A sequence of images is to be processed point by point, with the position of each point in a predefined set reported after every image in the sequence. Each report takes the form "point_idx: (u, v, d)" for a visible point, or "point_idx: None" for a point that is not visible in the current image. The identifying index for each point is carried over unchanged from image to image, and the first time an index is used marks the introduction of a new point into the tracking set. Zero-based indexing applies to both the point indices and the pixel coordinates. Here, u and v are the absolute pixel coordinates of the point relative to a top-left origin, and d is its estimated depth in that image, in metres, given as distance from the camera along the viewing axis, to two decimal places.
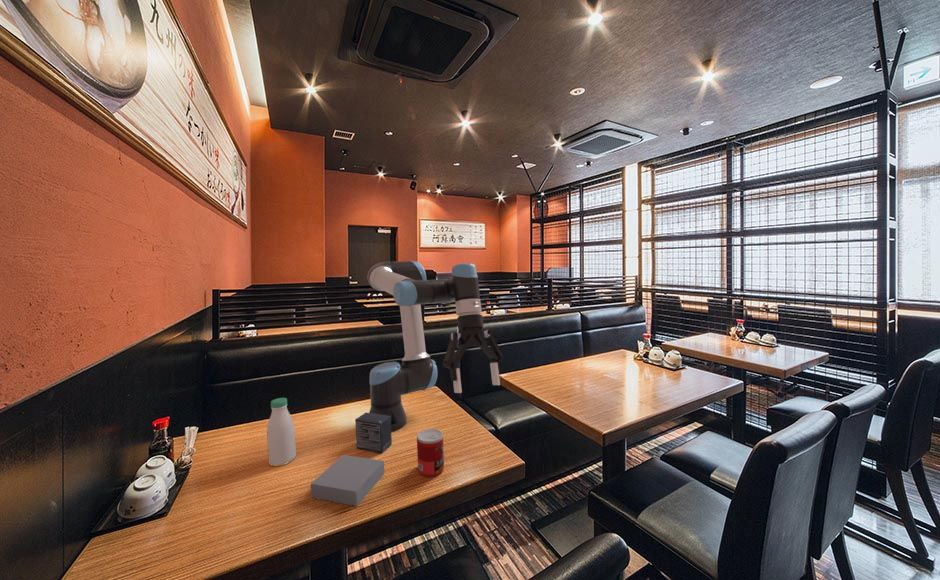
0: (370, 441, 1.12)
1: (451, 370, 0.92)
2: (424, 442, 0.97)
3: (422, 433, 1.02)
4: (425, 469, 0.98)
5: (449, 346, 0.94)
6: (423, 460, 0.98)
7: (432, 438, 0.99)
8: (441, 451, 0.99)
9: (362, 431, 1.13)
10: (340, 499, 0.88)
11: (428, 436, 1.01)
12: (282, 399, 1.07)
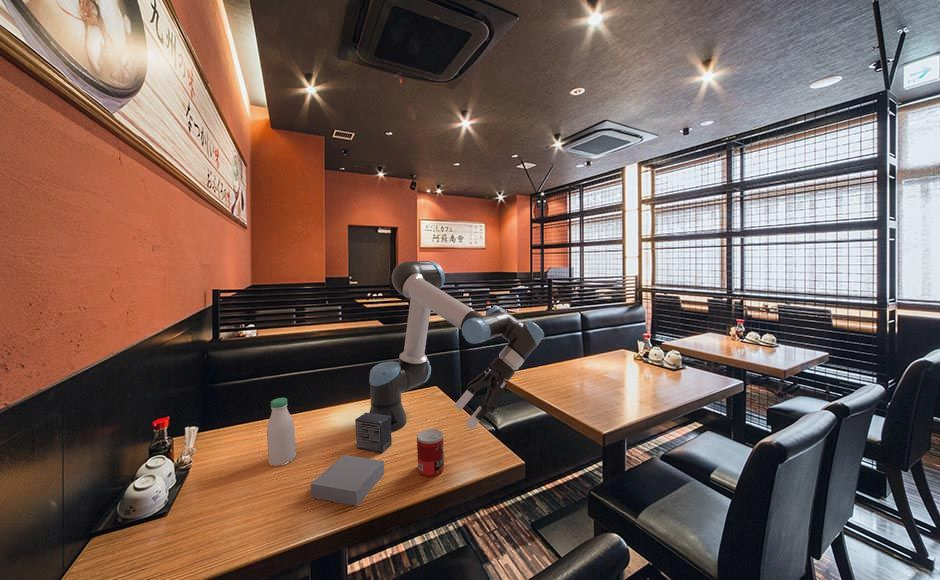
0: (370, 441, 1.12)
1: (485, 412, 0.96)
2: (424, 442, 0.97)
3: (422, 433, 1.02)
4: (425, 469, 0.98)
5: (497, 392, 0.98)
6: (423, 460, 0.98)
7: (432, 438, 0.99)
8: (441, 451, 0.99)
9: (362, 431, 1.13)
10: (340, 499, 0.88)
11: (428, 436, 1.01)
12: (282, 399, 1.07)
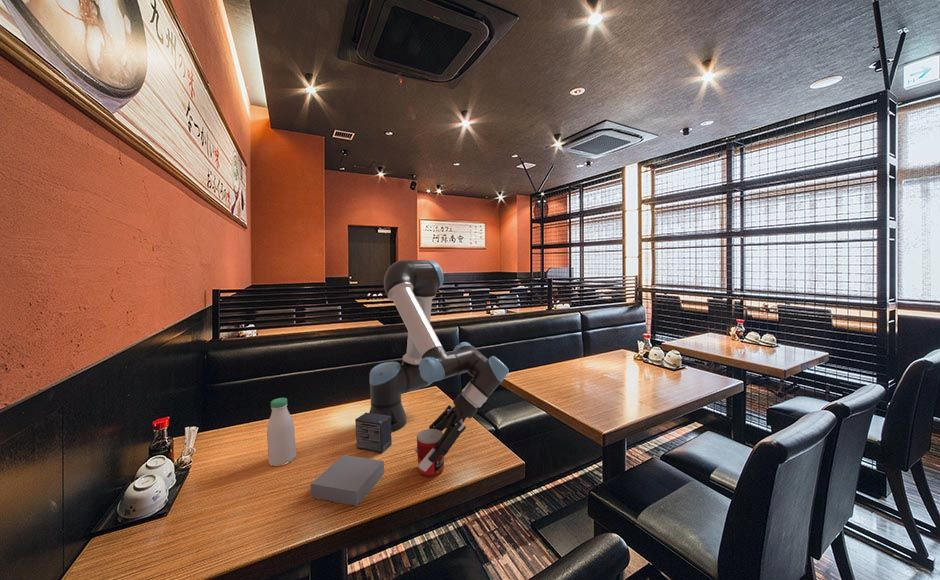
0: (370, 441, 1.12)
1: (437, 454, 0.96)
2: (424, 442, 0.97)
3: (422, 433, 1.02)
4: None
5: (453, 435, 0.96)
6: None
7: (432, 438, 0.99)
8: None
9: (362, 431, 1.13)
10: (340, 499, 0.88)
11: (428, 436, 1.01)
12: (282, 399, 1.07)
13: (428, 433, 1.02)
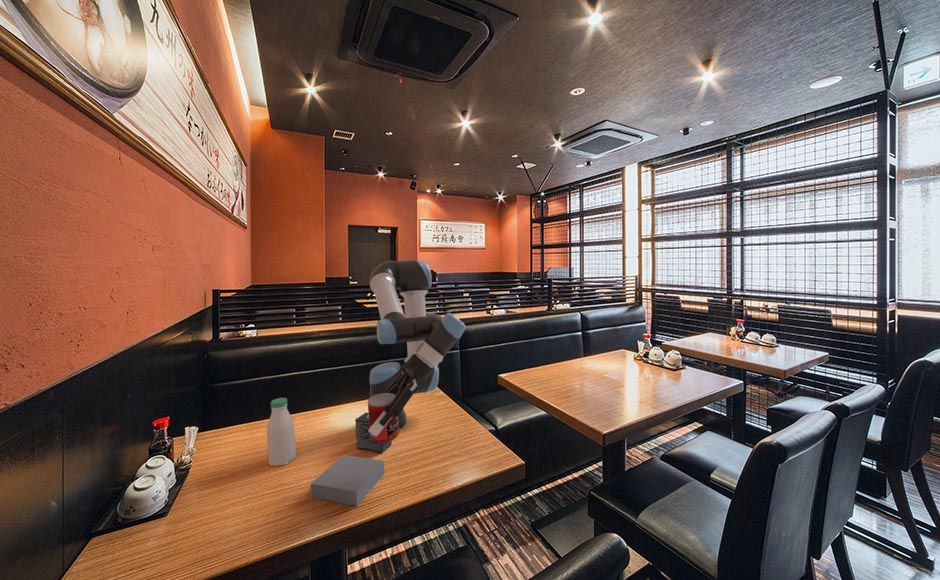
0: (370, 441, 1.12)
1: (389, 417, 0.89)
2: (375, 405, 0.90)
3: (374, 397, 0.95)
4: None
5: (404, 396, 0.89)
6: None
7: (384, 401, 0.92)
8: None
9: (362, 431, 1.13)
10: (340, 499, 0.88)
11: (380, 399, 0.93)
12: (282, 399, 1.07)
13: (381, 397, 0.95)
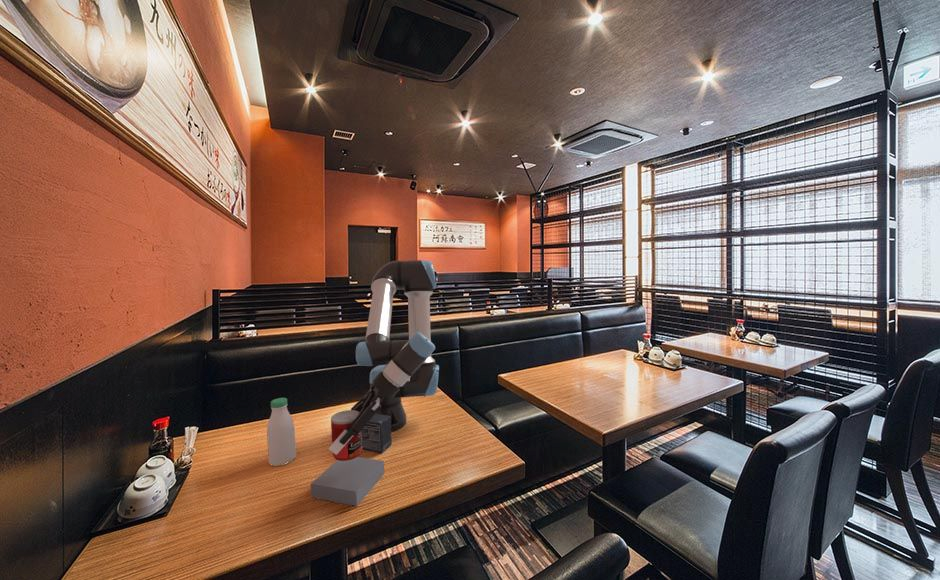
0: (370, 441, 1.12)
1: (349, 435, 0.88)
2: (336, 423, 0.90)
3: (339, 414, 0.95)
4: None
5: (366, 415, 0.88)
6: None
7: (347, 419, 0.92)
8: None
9: (362, 431, 1.13)
10: (340, 499, 0.88)
11: (344, 417, 0.93)
12: (282, 399, 1.07)
13: (345, 414, 0.95)
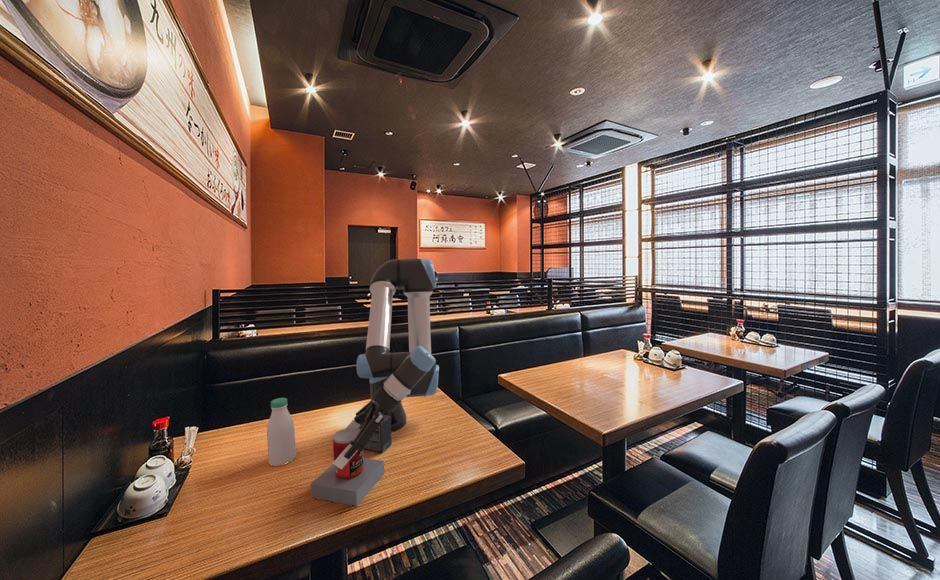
0: (370, 441, 1.12)
1: (354, 450, 0.87)
2: (338, 442, 0.91)
3: (340, 432, 0.96)
4: (339, 471, 0.91)
5: (370, 427, 0.88)
6: None
7: (349, 437, 0.93)
8: (358, 451, 0.93)
9: None
10: (340, 499, 0.88)
11: (345, 435, 0.94)
12: (282, 399, 1.07)
13: (347, 432, 0.96)
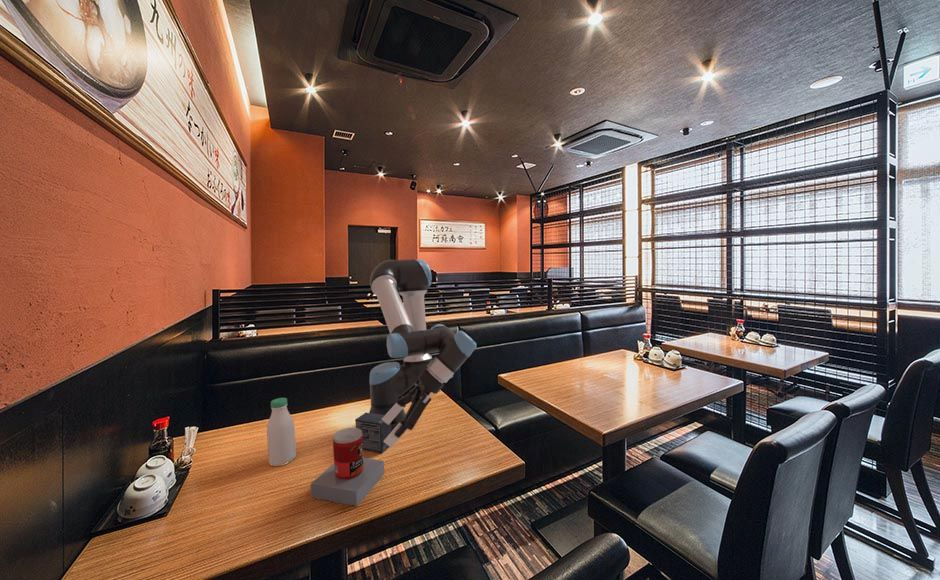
0: (370, 441, 1.12)
1: (404, 429, 0.90)
2: (338, 442, 0.91)
3: (340, 432, 0.96)
4: (339, 471, 0.91)
5: (418, 407, 0.92)
6: (338, 461, 0.91)
7: (349, 437, 0.93)
8: (358, 451, 0.93)
9: (362, 431, 1.13)
10: (340, 499, 0.88)
11: (345, 435, 0.94)
12: (282, 399, 1.07)
13: (347, 432, 0.96)
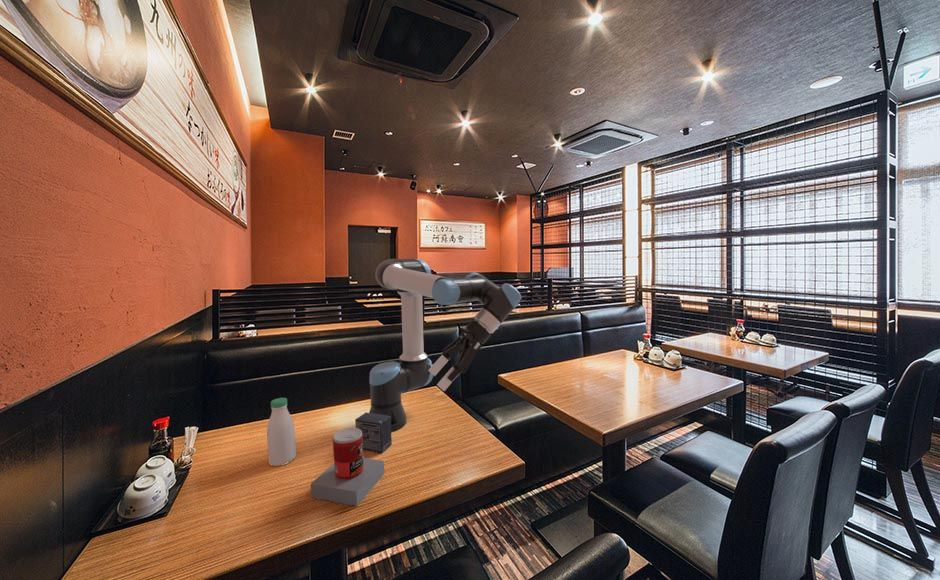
0: (370, 441, 1.12)
1: (457, 373, 0.93)
2: (338, 442, 0.91)
3: (340, 432, 0.96)
4: (339, 471, 0.91)
5: (470, 353, 0.94)
6: (338, 461, 0.91)
7: (349, 437, 0.93)
8: (358, 451, 0.93)
9: (362, 431, 1.13)
10: (340, 499, 0.88)
11: (345, 435, 0.94)
12: (282, 399, 1.07)
13: (347, 432, 0.96)
